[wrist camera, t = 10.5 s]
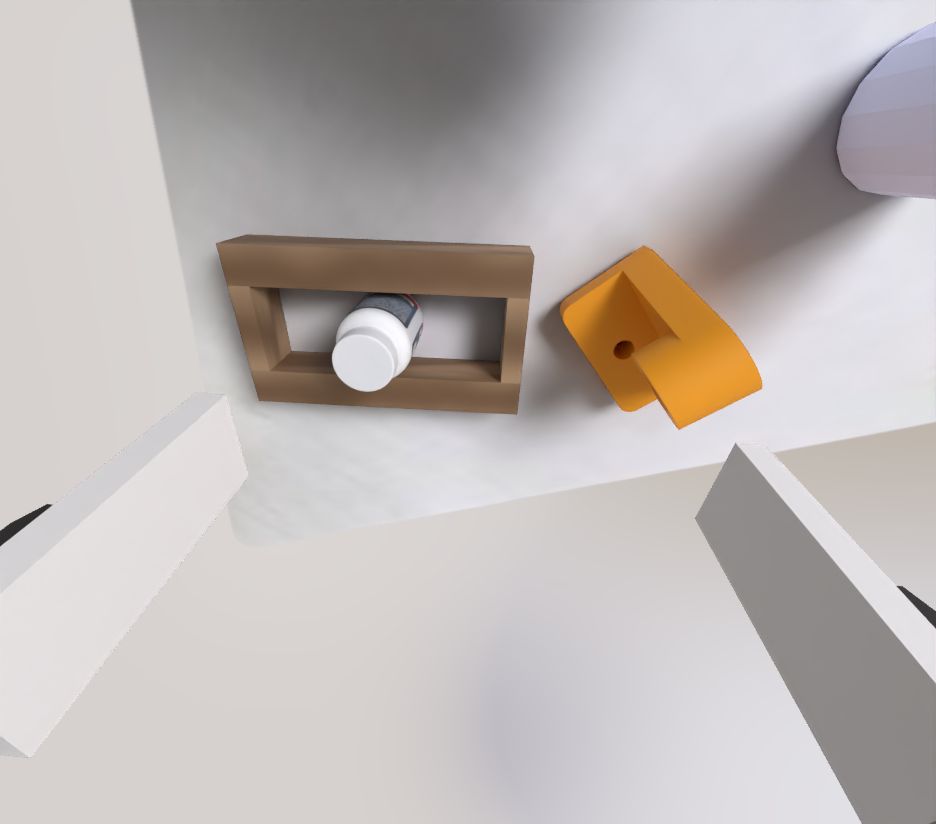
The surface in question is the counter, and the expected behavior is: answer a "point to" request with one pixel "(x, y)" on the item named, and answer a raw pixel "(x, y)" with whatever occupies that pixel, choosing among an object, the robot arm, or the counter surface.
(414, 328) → the pill bottle
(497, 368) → the brown open rectangular frame
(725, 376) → the bracket
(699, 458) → the counter surface
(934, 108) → the soap bottle
